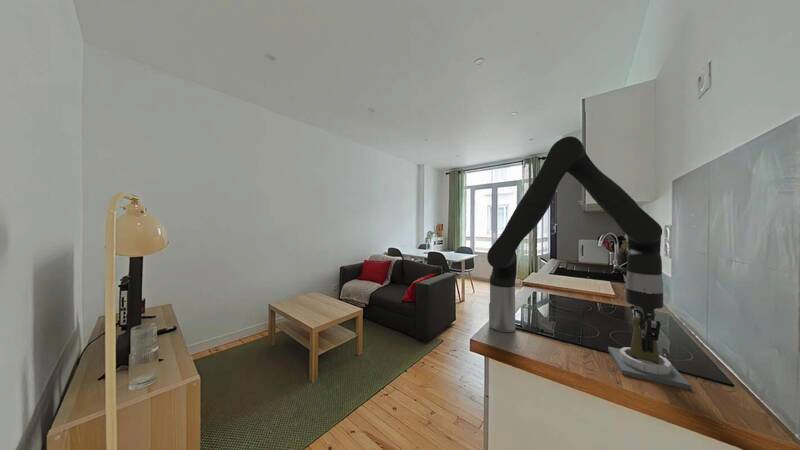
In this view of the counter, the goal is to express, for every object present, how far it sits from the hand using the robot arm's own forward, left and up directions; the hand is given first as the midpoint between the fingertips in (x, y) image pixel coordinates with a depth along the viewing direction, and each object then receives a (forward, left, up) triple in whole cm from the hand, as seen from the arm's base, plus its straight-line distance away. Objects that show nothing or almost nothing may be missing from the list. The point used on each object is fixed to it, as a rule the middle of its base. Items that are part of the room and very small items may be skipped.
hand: (644, 347), depth 69 cm
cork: (0, 0, -2) cm, 2 cm away
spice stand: (0, 0, -6) cm, 6 cm away
